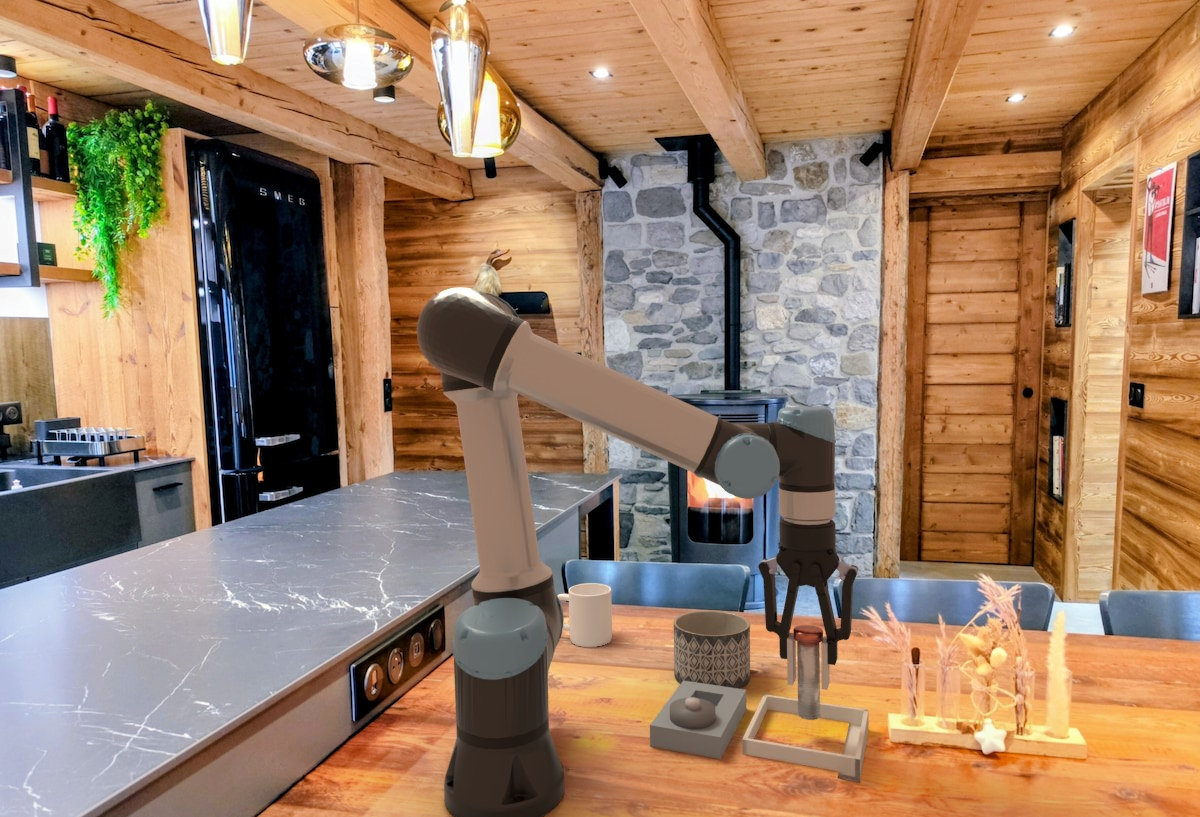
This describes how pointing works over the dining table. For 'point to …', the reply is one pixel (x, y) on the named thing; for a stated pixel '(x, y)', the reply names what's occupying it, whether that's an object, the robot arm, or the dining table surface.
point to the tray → (844, 763)
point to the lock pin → (808, 670)
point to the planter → (712, 648)
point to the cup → (589, 614)
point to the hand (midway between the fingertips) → (808, 683)
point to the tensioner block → (699, 719)
